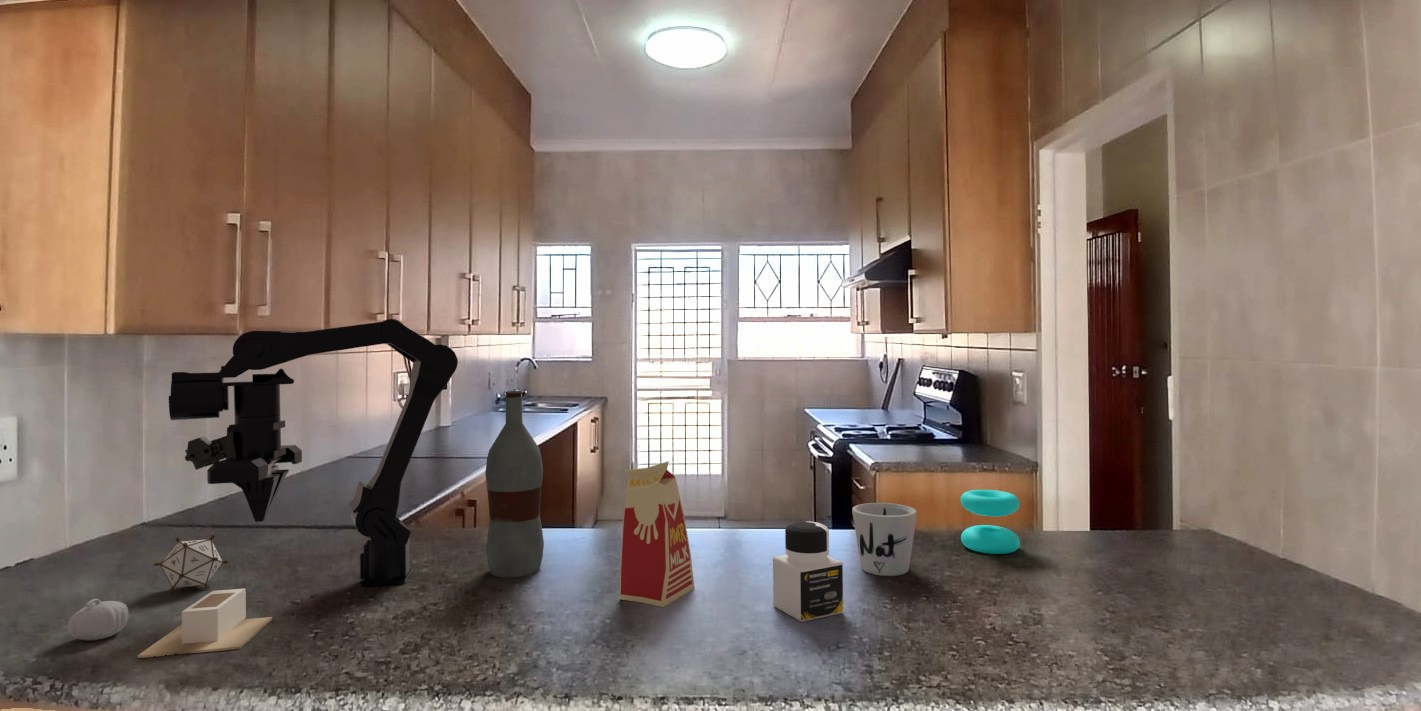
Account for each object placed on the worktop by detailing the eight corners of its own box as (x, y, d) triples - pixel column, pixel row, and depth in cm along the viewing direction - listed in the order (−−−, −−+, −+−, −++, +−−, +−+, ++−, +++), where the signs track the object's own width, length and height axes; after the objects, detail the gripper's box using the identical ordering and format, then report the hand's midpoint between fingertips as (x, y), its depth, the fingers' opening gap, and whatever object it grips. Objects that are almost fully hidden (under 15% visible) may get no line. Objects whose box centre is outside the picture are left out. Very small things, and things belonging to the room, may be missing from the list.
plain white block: (245, 588, 96) (217, 608, 88) (245, 617, 96) (218, 640, 88) (212, 590, 95) (181, 611, 87) (213, 620, 95) (182, 643, 87)
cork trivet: (272, 619, 96) (272, 616, 96) (240, 648, 86) (240, 646, 86) (181, 626, 94) (181, 624, 94) (137, 658, 84) (137, 655, 84)
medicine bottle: (801, 623, 93) (800, 533, 93) (772, 606, 99) (771, 521, 99) (844, 613, 96) (843, 526, 96) (813, 597, 102) (812, 516, 102)
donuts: (1012, 501, 120) (953, 495, 126) (1012, 559, 120) (954, 550, 126) (1024, 491, 128) (969, 486, 134) (1025, 546, 128) (969, 538, 134)
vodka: (541, 559, 123) (540, 389, 123) (546, 575, 114) (544, 391, 114) (485, 565, 120) (484, 390, 120) (486, 581, 111) (484, 393, 111)
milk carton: (694, 587, 107) (693, 457, 107) (665, 608, 99) (664, 466, 99) (643, 580, 111) (641, 454, 111) (611, 599, 103) (609, 463, 103)
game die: (194, 615, 108) (177, 575, 102) (152, 592, 109) (133, 552, 104) (245, 572, 115) (232, 533, 109) (205, 551, 117) (190, 511, 111)
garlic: (78, 650, 86) (77, 608, 86) (62, 641, 89) (62, 600, 89) (137, 633, 92) (137, 594, 92) (121, 625, 94) (120, 587, 94)
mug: (847, 575, 112) (846, 513, 112) (863, 550, 126) (862, 495, 126) (914, 582, 109) (913, 518, 109) (923, 556, 122) (922, 499, 122)
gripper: (224, 412, 110) (226, 511, 110) (161, 424, 92) (163, 542, 92) (302, 410, 113) (304, 506, 113) (255, 420, 95) (258, 535, 95)
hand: (260, 521), depth 103 cm, fingers closed
